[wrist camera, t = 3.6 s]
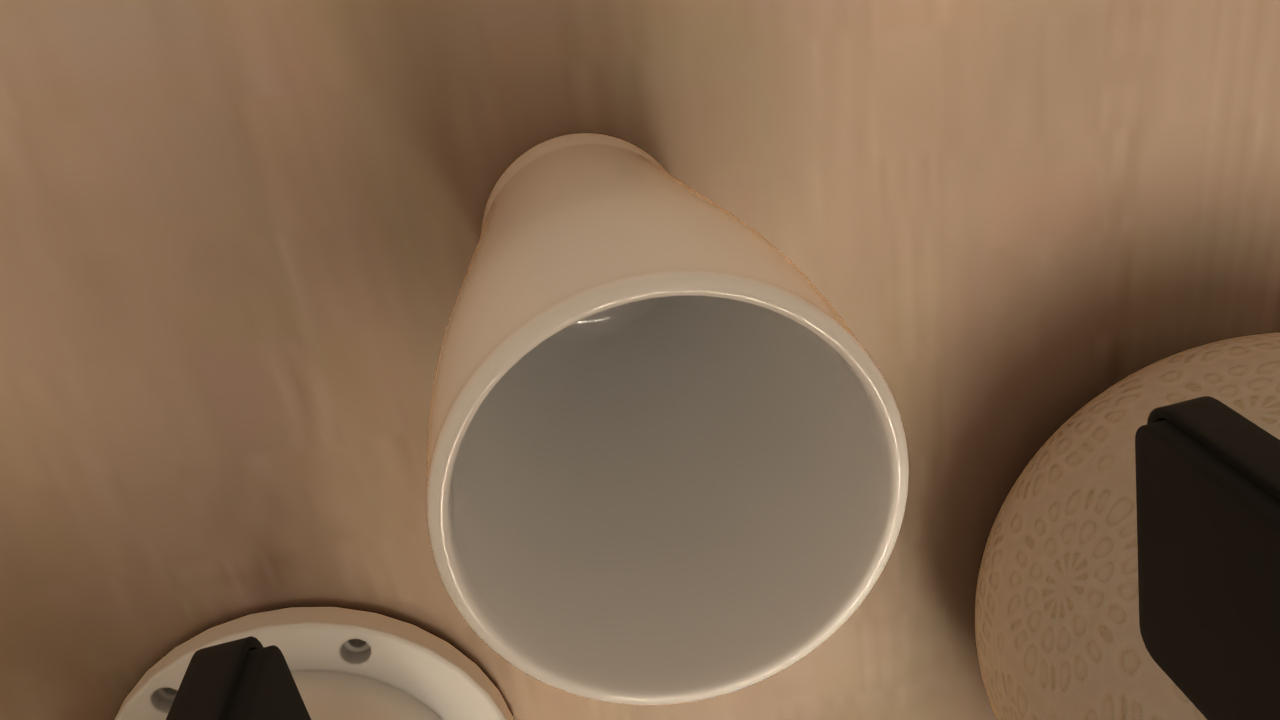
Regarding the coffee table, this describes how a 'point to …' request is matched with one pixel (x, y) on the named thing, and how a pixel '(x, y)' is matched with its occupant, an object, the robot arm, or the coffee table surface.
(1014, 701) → the planter
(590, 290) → the drinking glass
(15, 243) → the coffee table surface
